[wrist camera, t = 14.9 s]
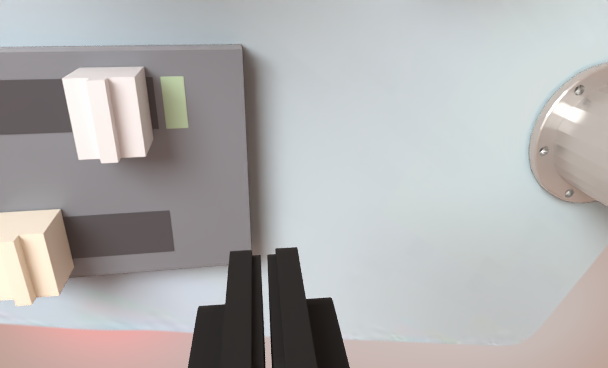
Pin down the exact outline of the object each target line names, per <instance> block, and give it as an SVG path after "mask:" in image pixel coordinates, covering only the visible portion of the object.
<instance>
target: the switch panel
mask: <svg viewBox="0 0 608 368" xmlns="http://www.w3.org/2000/svg"><path fill="white" fill-rule="evenodd" d="M143 66H144V71H145V78H146V86H147V93H148V101H149V108H150V116H151V123H152V131H153V142H152V144H151V146H150V148H149V151H148V153H147V155H146V157H130V158H121V159H120V160H119V162H118V163H101V161H100V159H86V160H79V159H78V154H77V149H76V145H75V140H74V135H73V130H72V125H71V120H70V116H69V111H68V106H67V101H66V96H65V91H64V87H63V82H62V78H63V77H65V76H67V75H68V74H70V73H72V72H73V71H75V70H76V69H78V68H86V67H143ZM52 209H61V213H62V217H63V222H64V226H65V230H66V234H67V239H68V243H69V247H70V251H71V256H72V260H73V264H74V268H73V270H72V272H71V274H70V276H69V278H70V277H83V276H95V275H108V274H120V273H133V272H145V271H158V270H170V269H183V268H195V267H208V266H220V265H229V255H230V251H241V250H251V233H250V210H249V188H248V166H247V144H246V122H245V100H244V77H243V55H242V46H241V44H223V45H135V46H47V47H0V213H2V212H18V211H35V210H52Z"/></svg>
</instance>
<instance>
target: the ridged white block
mask: <svg viewBox="0 0 608 368" xmlns="http://www.w3.org/2000/svg"><path fill="white" fill-rule="evenodd" d="M62 82H63V87H64V91H65V96H66V101H67V106H68V111H69V116H70V120H71V125H72V130H73V135H74V140H75V145H76V149H77V154H78V159H79V160H86V159H100V161H101V163H118V162H119V160H120V159H121V158H130V157H146V155H147V153H148V151H149V148H150V146H151V144H152V142H153V131H152V123H151V116H150V108H149V101H148V93H147V86H146V78H145V71H144V66H143V67H86V68H78V69H76V70H75V71H73V72H72V73H70V74H68V75H67V76H65V77H63V78H62Z"/></svg>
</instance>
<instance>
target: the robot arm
mask: <svg viewBox="0 0 608 368" xmlns="http://www.w3.org/2000/svg"><path fill="white" fill-rule="evenodd" d="M529 160H530V165H531V169H532V172H533V174H534V176H535V178H536V180H537V181H538V183H539V184H540V185H541V186H542V187H543V188H544V189H545V190H547V191H548V192H549V193H551V194H552V195H554V196H556V197H558V198H559V199H561V200H565V201H569V202H576V203H585V202H592V201H599V202H600V203H602V204H604V205H605V206H607V207H608V63H603V64H600V65H597V66H593V67H591V68H589V69H587V70H585V71H583V72H581V73H579V74H577V75H576V76H574V77H573V78H572V79H570V80H569V81H567V82H566V83H565V84H564V85H563V86H562V87H561V88H560V89H559V90H558V91H557V92H556V93H554V95H553V96H552V97H551V98H550V100H549V101H548V102H547V104H546V105H545V106H544V108H543V110H542V111H541V113H540V115H539V117H538V119H537V121H536V123H535V126H534V129H533V131H532V135H531V140H530V145H529ZM267 257H268V283H269V309H270V334H271V354H272V355H271V356H272V368H350V367H349V363H348V359H347V356H346V351H345V347H344V343H343V339H342V335H341V331H340V327H339V324H338V320H337V316H336V312H335V308H334V304H333V300H332V298H331V297H330V298H315V299H306V297H305V291H304V285H303V279H302V273H301V267H300V261H299V256H298V250H297V247H295V248H277V249H276V254H272V255H267ZM264 344H265V342H264V320H263V298H262V277H261V256H260V255H255V256H252V250H241V251H230V255H229V267H228V279H227V291H226V303H225V304H224V305H209V306H199V307H198V311H197V316H196V322H195V328H194V334H193V341H192V347H191V352H190V358H189V364H188V368H265V345H264Z"/></svg>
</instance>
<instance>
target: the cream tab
mask: <svg viewBox="0 0 608 368" xmlns="http://www.w3.org/2000/svg"><path fill="white" fill-rule="evenodd" d="M73 268H74V264H73V260H72V256H71V251H70V247H69V243H68V239H67V234H66V230H65V226H64V222H63V217H62V213H61V209H52V210H35V211H18V212H2V213H0V300H12V299H14V301H15V305H16V306H24V305H32V304H33V302H34V300H35V299H36V297H47V296H59V295H60V293H61V291H62V289H63V287H64V285H65V284H66V282H67V280H68V278H69V276H70V274H71V272H72V270H73Z"/></svg>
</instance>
